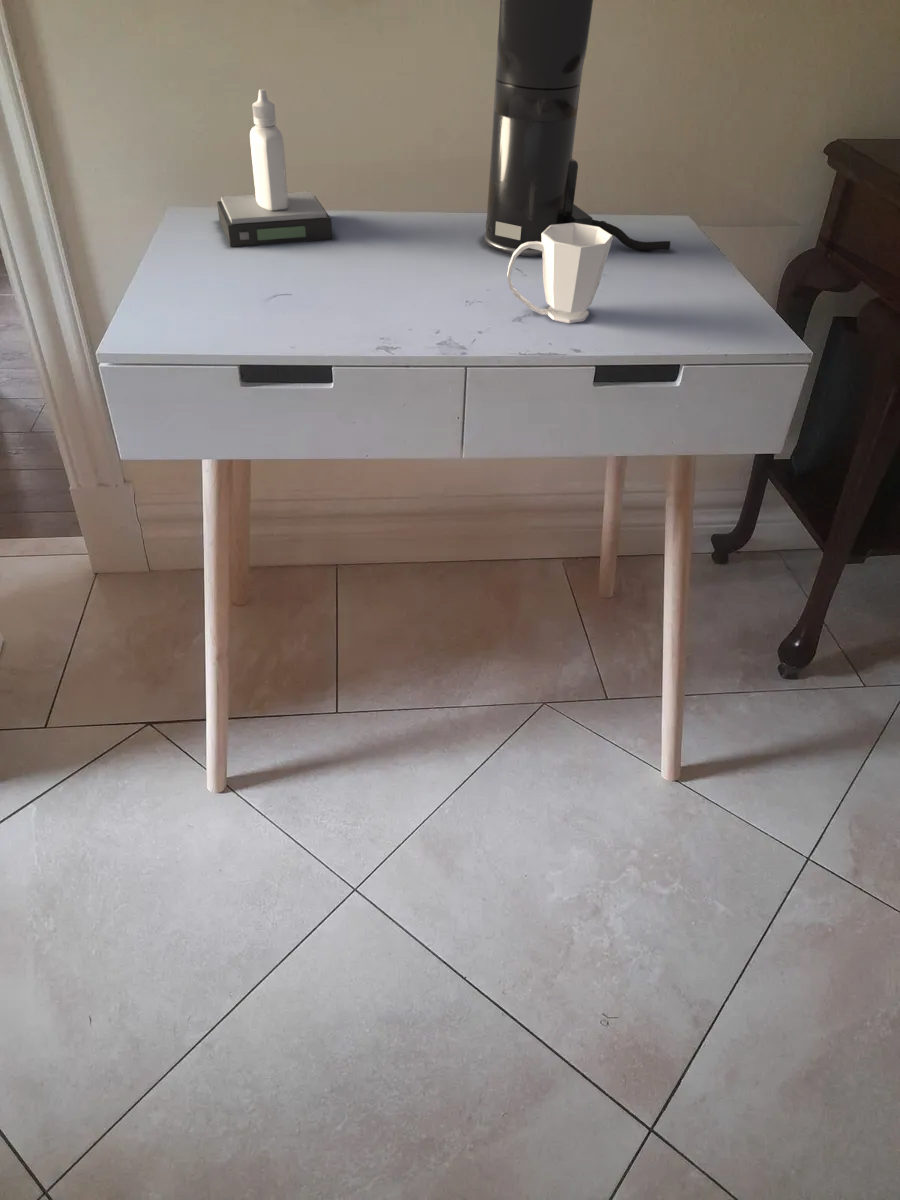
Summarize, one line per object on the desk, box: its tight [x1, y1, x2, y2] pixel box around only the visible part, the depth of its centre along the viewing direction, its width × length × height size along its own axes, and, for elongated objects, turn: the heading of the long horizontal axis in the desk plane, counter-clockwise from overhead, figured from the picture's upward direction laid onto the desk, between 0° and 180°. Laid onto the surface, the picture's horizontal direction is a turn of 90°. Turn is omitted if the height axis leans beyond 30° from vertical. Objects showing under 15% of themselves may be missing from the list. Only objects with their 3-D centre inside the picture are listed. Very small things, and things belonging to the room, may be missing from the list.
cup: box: [506, 223, 614, 324], centre depth 89 cm, size 7×10×8 cm
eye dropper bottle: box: [249, 88, 289, 211], centre depth 101 cm, size 4×6×12 cm
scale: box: [216, 190, 333, 248], centre depth 106 cm, size 12×9×3 cm
